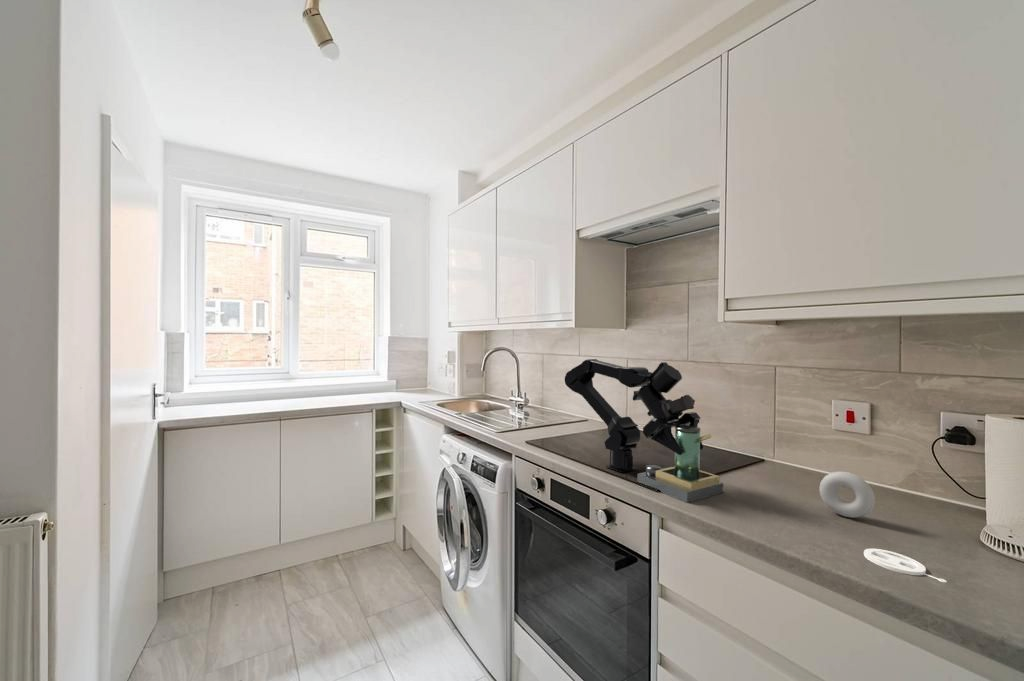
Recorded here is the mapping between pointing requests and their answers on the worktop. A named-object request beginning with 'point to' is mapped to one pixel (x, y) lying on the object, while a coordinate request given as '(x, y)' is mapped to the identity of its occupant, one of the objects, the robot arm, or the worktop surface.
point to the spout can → (688, 451)
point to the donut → (856, 484)
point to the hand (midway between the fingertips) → (692, 451)
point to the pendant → (896, 562)
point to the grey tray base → (680, 483)
